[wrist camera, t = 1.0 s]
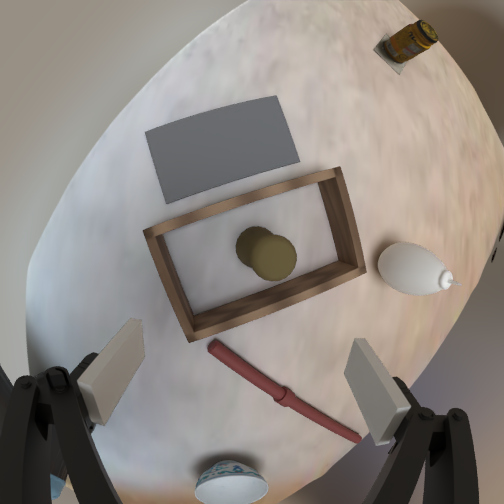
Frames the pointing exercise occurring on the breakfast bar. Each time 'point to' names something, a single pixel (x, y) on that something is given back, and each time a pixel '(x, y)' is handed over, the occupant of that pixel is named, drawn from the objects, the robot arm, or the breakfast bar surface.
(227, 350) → the red rod with collar
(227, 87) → the breakfast bar surface
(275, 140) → the charcoal mat
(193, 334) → the wooden box
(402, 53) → the condiment
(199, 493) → the chinaware
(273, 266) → the olive dumbbell shape
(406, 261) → the white bulb air blower
